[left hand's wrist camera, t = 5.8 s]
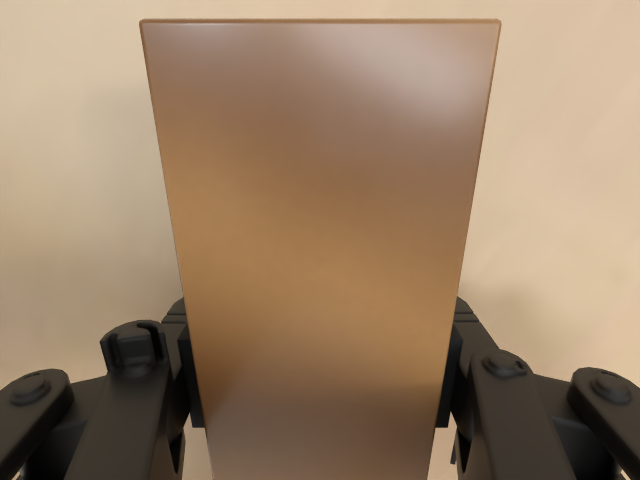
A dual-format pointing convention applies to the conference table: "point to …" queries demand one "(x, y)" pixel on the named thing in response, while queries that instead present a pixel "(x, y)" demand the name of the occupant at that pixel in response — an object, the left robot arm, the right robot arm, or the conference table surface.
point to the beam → (320, 229)
